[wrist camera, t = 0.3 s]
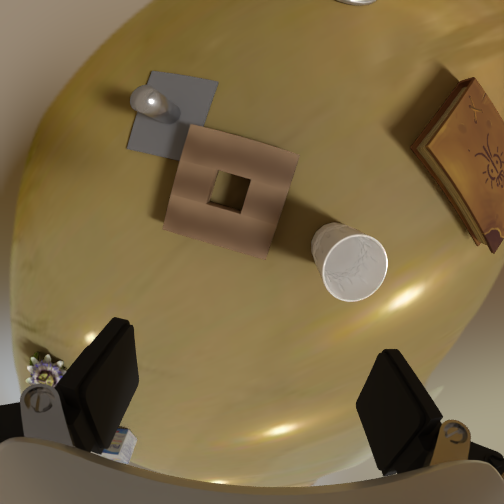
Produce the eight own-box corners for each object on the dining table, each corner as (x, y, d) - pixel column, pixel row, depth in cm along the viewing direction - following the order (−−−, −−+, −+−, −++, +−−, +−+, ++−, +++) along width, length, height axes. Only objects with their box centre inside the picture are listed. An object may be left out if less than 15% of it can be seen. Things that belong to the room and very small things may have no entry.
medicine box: (129, 428, 52) (118, 454, 44) (138, 439, 54) (128, 464, 45) (105, 426, 53) (93, 450, 45) (114, 437, 54) (103, 460, 46)
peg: (163, 102, 33) (135, 83, 23) (183, 106, 33) (160, 86, 24) (157, 122, 34) (126, 109, 24) (176, 126, 34) (151, 113, 25)
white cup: (357, 269, 40) (384, 298, 30) (306, 273, 40) (321, 304, 31) (359, 217, 38) (390, 232, 28) (305, 219, 38) (322, 236, 28)
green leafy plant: (72, 349, 52) (79, 387, 43) (63, 378, 53) (70, 415, 44) (29, 336, 45) (28, 375, 36) (24, 368, 45) (25, 406, 36)
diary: (514, 177, 35) (534, 180, 30) (474, 244, 39) (494, 253, 34) (457, 81, 31) (477, 75, 25) (408, 147, 35) (428, 146, 29)
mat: (153, 71, 32) (152, 70, 32) (218, 82, 33) (218, 81, 32) (128, 148, 35) (126, 148, 35) (192, 164, 36) (191, 164, 36)
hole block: (195, 127, 35) (190, 124, 32) (296, 156, 36) (300, 155, 33) (169, 224, 38) (162, 229, 36) (264, 253, 39) (265, 260, 37)
